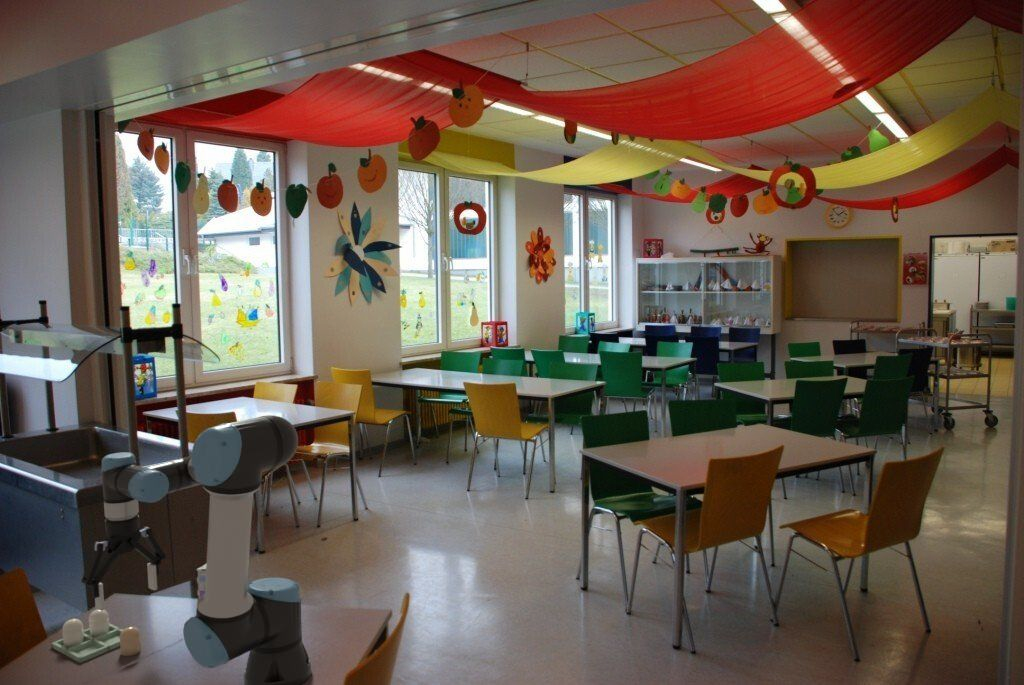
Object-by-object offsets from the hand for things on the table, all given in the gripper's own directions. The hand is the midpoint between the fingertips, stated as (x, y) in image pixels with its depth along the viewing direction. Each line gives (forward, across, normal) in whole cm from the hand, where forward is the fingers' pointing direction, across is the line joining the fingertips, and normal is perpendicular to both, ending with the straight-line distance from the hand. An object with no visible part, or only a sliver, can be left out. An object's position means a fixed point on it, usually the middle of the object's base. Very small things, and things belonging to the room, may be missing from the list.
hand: (127, 598), depth 194 cm
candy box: (+15, -25, +2) cm, 29 cm away
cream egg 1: (+14, +6, -15) cm, 21 cm away
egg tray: (+14, +3, -12) cm, 19 cm away
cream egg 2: (+14, 0, -15) cm, 20 cm away
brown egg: (+14, 0, 0) cm, 14 cm away
